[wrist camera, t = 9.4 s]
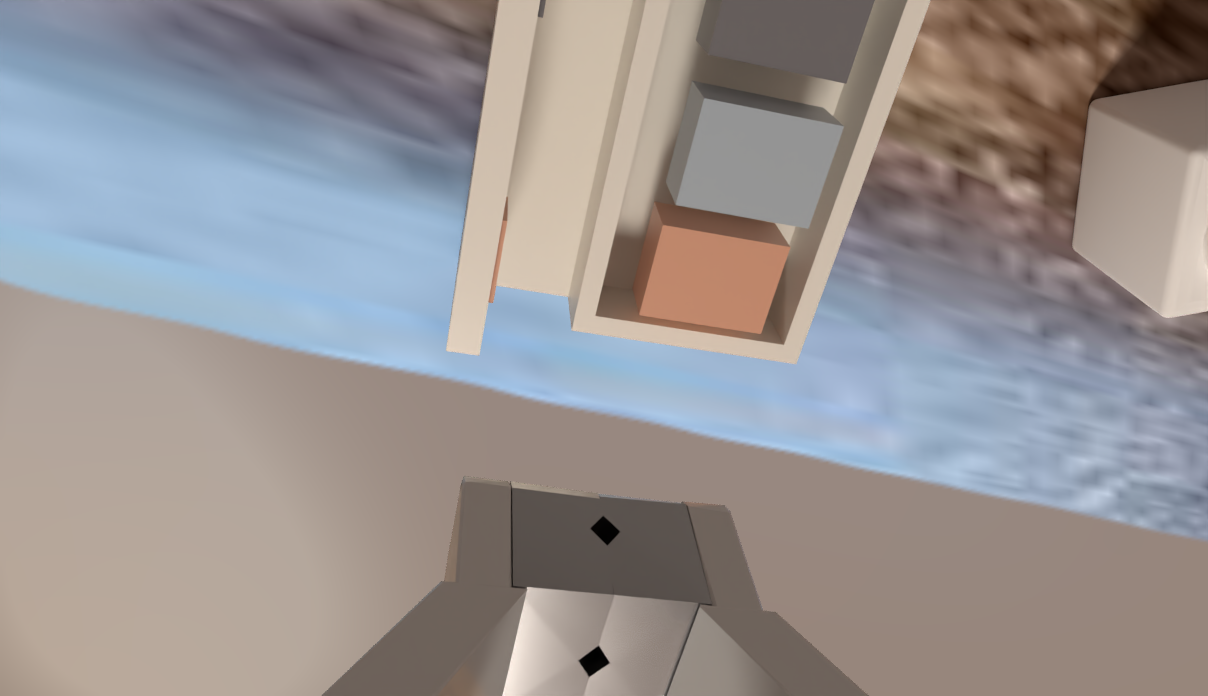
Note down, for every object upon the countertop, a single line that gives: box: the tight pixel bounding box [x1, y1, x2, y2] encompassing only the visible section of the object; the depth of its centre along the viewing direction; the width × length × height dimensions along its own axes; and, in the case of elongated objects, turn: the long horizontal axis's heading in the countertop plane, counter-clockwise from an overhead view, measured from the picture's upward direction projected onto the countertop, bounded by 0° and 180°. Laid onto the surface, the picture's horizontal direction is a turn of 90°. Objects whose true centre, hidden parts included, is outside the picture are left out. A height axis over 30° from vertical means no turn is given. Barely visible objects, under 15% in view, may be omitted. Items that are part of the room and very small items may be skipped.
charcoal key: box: [696, 0, 875, 84], centre depth 31 cm, size 5×4×2 cm
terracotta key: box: [632, 202, 790, 334], centre depth 35 cm, size 5×4×2 cm
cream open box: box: [446, 0, 931, 364], centre depth 33 cm, size 14×17×8 cm
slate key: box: [666, 81, 844, 229], centre depth 32 cm, size 5×4×2 cm
